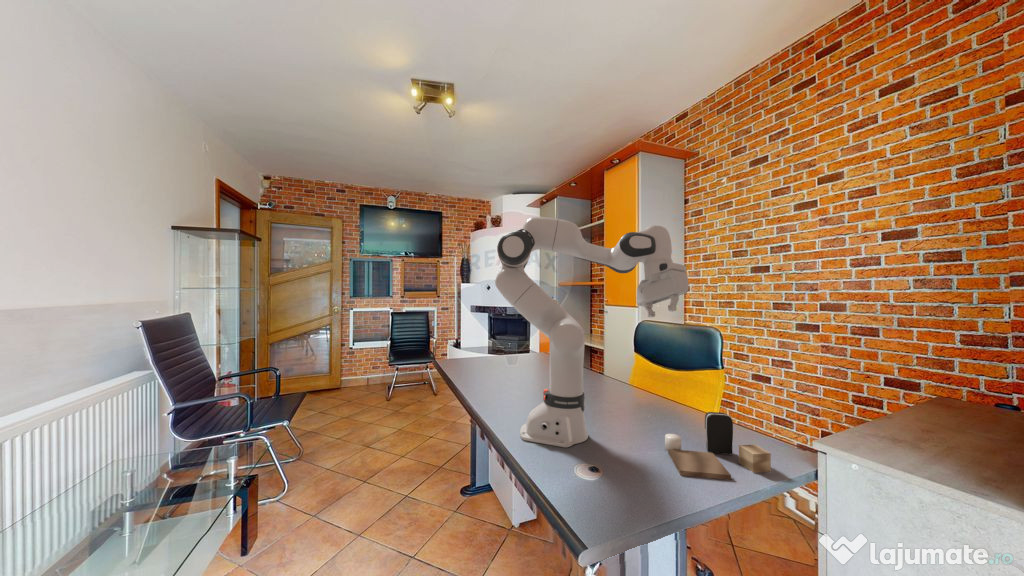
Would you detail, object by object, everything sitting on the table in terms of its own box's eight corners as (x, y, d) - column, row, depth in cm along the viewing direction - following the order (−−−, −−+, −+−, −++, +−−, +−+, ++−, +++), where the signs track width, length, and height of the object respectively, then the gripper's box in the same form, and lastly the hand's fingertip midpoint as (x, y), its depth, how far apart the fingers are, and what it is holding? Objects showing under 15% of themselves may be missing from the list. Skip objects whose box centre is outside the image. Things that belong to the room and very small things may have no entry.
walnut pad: (680, 475, 88) (680, 470, 88) (668, 453, 100) (668, 448, 100) (730, 479, 86) (730, 475, 86) (712, 456, 98) (712, 452, 98)
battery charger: (729, 449, 102) (729, 411, 102) (733, 455, 98) (733, 416, 98) (703, 447, 104) (703, 409, 104) (707, 452, 100) (706, 414, 100)
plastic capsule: (667, 452, 100) (667, 439, 100) (663, 446, 105) (663, 433, 105) (683, 454, 100) (683, 440, 100) (678, 447, 104) (678, 434, 104)
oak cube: (752, 472, 89) (752, 453, 89) (738, 463, 94) (738, 445, 94) (770, 472, 90) (770, 453, 90) (755, 462, 95) (755, 444, 95)
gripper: (631, 280, 120) (632, 318, 116) (673, 260, 101) (676, 305, 97) (646, 283, 121) (648, 321, 117) (690, 264, 103) (694, 308, 99)
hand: (661, 314), depth 107 cm, fingers open, 8 cm apart
